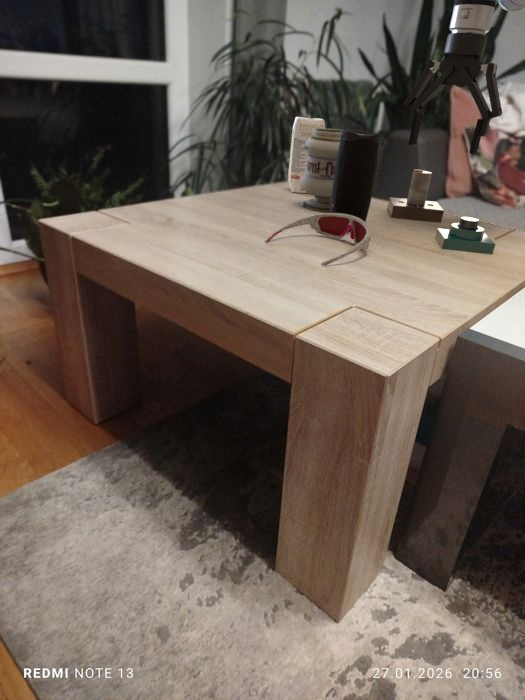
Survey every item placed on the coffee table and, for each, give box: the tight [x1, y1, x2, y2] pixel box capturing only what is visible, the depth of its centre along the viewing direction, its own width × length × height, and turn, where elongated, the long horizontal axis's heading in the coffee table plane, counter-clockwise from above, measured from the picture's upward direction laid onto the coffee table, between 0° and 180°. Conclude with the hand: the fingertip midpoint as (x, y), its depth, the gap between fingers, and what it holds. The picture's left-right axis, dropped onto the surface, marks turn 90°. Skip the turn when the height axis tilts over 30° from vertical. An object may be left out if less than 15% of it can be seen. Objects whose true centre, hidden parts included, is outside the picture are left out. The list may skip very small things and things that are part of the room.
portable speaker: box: [329, 128, 381, 232], centre depth 107 cm, size 9×9×20 cm
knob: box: [406, 169, 433, 205], centre depth 122 cm, size 4×4×8 cm
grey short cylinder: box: [458, 216, 480, 230], centre depth 102 cm, size 4×4×2 cm
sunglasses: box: [264, 212, 372, 266], centre depth 95 cm, size 17×17×5 cm
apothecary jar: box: [300, 127, 344, 213], centre depth 122 cm, size 12×12×18 cm
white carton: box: [287, 116, 326, 194], centre depth 138 cm, size 8×9×19 cm
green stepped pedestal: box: [434, 222, 496, 255], centre depth 103 cm, size 10×8×4 cm
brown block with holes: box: [386, 196, 445, 224], centre depth 125 cm, size 12×10×3 cm
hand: (441, 148), depth 109 cm, fingers open, 13 cm apart
